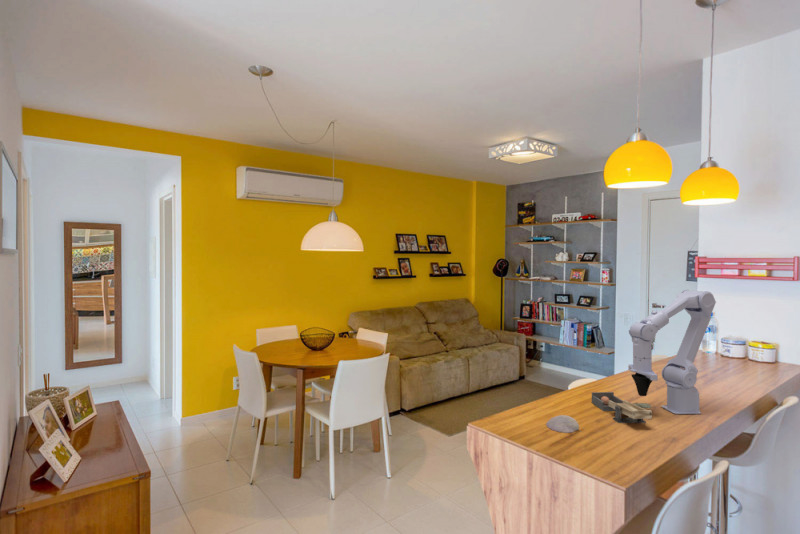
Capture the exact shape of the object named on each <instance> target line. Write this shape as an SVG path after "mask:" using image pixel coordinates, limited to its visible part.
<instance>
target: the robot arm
mask: <svg viewBox="0 0 800 534" xmlns="http://www.w3.org/2000/svg"><path fill="white" fill-rule="evenodd" d="M716 304H717V301H716V299H715V297H714V295H713V293H712V292H711V291H708V290H707V291H702V290H701V291H700V290H689V289H683V290H682V291H680V292H679V293H677V294H676V297H675V299H673V300H672V301H671V302H670V303H668V305H666V306H665V307H664V308H663V309H661V310H653V311H651V312H650V313H651V314H649V315H648V316H647V317H645V318H642V319H641V321H639V322H638V321H637V322H634V323H633V324H631V326H630V327H629V330H628V334H629V335H630V338H631V342H632V364H628V366H627V367H628V370H629V372H631V373H633V374H631V377H632V380H633V381H634V384H635V386H636V387H635V388H636V390H637V394H638V396H640V397H646V396H647V395H648V391H649V388H650V385H651V384H652V383H653V382H655V381H658V379H659V378H658V374H657V373H655V371H653V365H652V364H653V363H652V362H653V360H652V359H653V358H652V357H653V355H652V350H653V349H652V348H653V347H652V343H653V341H652V340H655V338H656V335H657V333H658V332H659V331H660V330H661V329H663V328H664V327H665V326H667V325H668V324H669V323H670V318H672V317H674V316H676V315H677V314H678V313H680V312H682V311H683V310H685V312H686V313H687V314H688V315H689V316H690V321H689V323H688V326H687V329H686V330H685V333H684V336H683V338H682V341H681V343H680V345H679V348H678V350H677V352H676V355H675V356H674V357H672V358H670V359H668V361H667V363H666V365H664V366H663V368H662V370H661V377H662V379H663V381H665V384H666V405H665V404H664V405H661V408H663V409H664V410H666V411H668V412H670V413H672V414H674V415H695V414H697V415H700V414H702V412H701V411H700V392H699V390H698V389H697V387H696V386H695V385H696V383H697V379H698V378H697V375H698V372H699V370H698V368H697V367H696V365H695V364H694V362H695V359H696V357H697V355H698V352H699V349H700V346H701V344H702V343H703V339H704V336H705V334H706V332H707V328H708V326H709V324H710V323H711V322H710V321H711V319H712V318H711V317H712V313H713V310H714V309H715V306H716Z"/></svg>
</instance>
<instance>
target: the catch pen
mask: <svg viewBox="0 0 800 534" xmlns="http://www.w3.org/2000/svg"><path fill="white" fill-rule="evenodd" d="M604 396H605V397H608V398H609V400H611V401H613V402H615V403H623V399H621V398H619V397H618V396H616V395H615V393H614V391H602V392H601V391H599V392H598V391H597V392H595V391H593V392H592V391H591V403H592V405H594V406H595V407H597V408H598V409H600V410H601V411H602V412H615V409H613V408H611V407H609V405H604V402H603V401H602V400H601V398H602V397H604Z"/></svg>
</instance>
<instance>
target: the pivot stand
mask: <svg viewBox="0 0 800 534" xmlns="http://www.w3.org/2000/svg"><path fill="white" fill-rule="evenodd" d="M637 406H639V405H637ZM639 407H641V406H639ZM641 408H643V407H641ZM643 409H644V408H643ZM612 420H613V421H614V422H617V424H646V423H647V421H646V420H644V419H633V418H631V417H629V416H628V417H627V416H626V417H622V413H621V408H620V407H619V406H615V411H614V417H612Z"/></svg>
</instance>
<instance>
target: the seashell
mask: <svg viewBox="0 0 800 534" xmlns="http://www.w3.org/2000/svg"><path fill="white" fill-rule="evenodd" d="M545 425H546V427H547V428H548V429H549V430H552V431H555V432H559V433H563V434H569V433H574V432H576V431H579V430H580V426H579V423H578V421H577V420H576V419H575V418H574V417H571V416H569V415H566V414H565V415H564V414H563V415H561V414H560V415H556V416H554V417H551V418H549V419H548V421H547V422H546V424H545Z"/></svg>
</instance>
